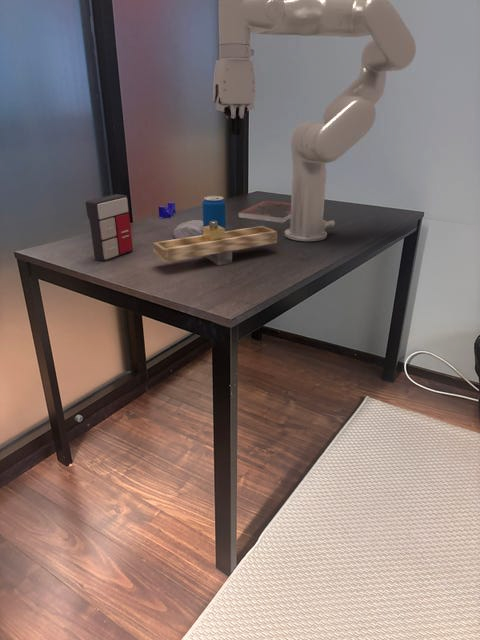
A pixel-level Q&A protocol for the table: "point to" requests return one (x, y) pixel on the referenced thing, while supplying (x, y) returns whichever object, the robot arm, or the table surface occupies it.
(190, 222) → the stone block
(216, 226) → the rider
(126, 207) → the drawer cabinet
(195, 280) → the table surface
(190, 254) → the beam
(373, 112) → the robot arm
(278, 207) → the picture frame
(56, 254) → the table surface
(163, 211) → the cable holder
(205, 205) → the beverage can
